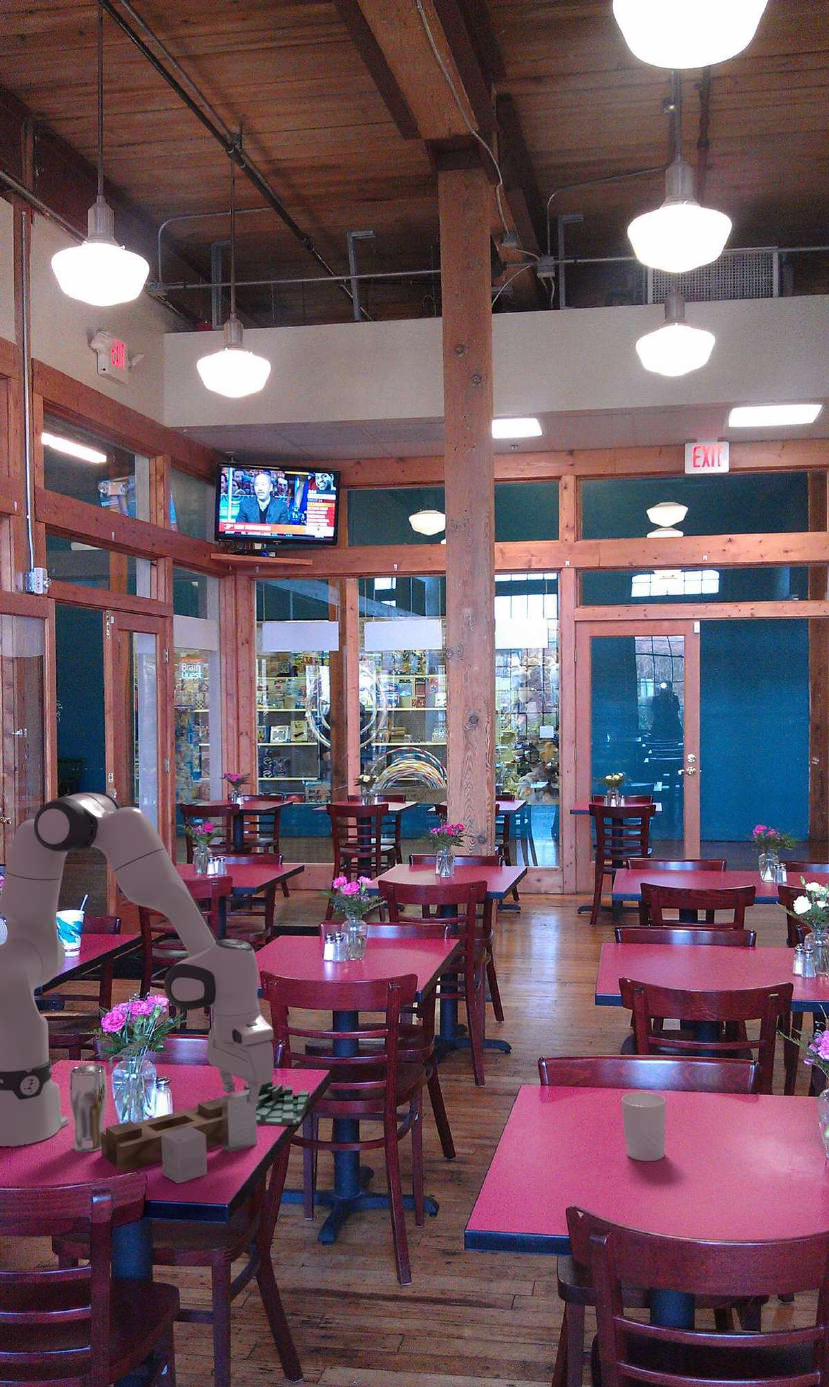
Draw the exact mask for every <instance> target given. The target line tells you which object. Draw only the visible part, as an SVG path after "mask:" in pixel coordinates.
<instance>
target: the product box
mask: <svg viewBox="0 0 829 1387" xmlns="http://www.w3.org/2000/svg"><path fill="white" fill-rule="evenodd" d="M207 1156H208V1155H207V1148H206V1134H204V1133H202V1132H200V1131H198V1130H197V1129H195V1128H193V1127H191V1126H188V1127H185V1128H181V1129H178V1130H175V1131H172V1132H168V1133H165V1134H162V1161H161V1162H162V1176H165V1177H166V1178H168V1179H170V1180H171V1181H173V1182H174V1183H176V1184H178V1185H179V1184H182V1183H184V1182H185V1183H186V1182H188V1181H192V1180H194V1179H197V1178H201V1177H203V1176H207V1175H208V1164H207V1163H208V1161H207V1160H208V1157H207Z"/></svg>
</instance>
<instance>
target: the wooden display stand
mask: <svg viewBox="0 0 829 1387" xmlns="http://www.w3.org/2000/svg"><path fill="white" fill-rule="evenodd" d="M188 1126H191V1127H193V1128H195V1129H197V1130H198V1131H200V1132H202V1133H204V1134H206V1149H207V1148H209V1147H213V1146H216V1145H220V1144H223V1125H222V1097H218V1098H214V1099H210V1100H206V1101H202V1102H198V1104H197V1106H195V1107H190V1108H187V1109H183V1110H180V1111H176V1112H173V1113H172V1112H170V1113H168V1114H164V1115H160V1116H157V1117H152V1118H149V1119H145V1120H142V1121H141V1120H140V1121H137V1122H134V1121H131V1120H129V1121H125V1122H122V1123H119V1124H114V1125H113V1124H112V1125H110V1126H106V1127H105V1130H104V1131H102V1132H101V1149H100V1150H101V1157H103V1159H105V1160H106V1161H108V1162H109V1163H111V1164H112V1165H113V1166H114V1167H115V1168H117V1169H118V1170H119V1171H120V1172H122V1173H123V1172H126V1171H130V1170H134V1169H136V1168H139V1167H144V1166H147V1165H150V1164H151V1165H152V1164H154V1163H158V1162H162V1134H165V1133H168V1132H172V1131H175V1130H178V1129H181V1128H185V1127H188Z"/></svg>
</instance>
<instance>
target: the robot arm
mask: <svg viewBox="0 0 829 1387" xmlns="http://www.w3.org/2000/svg"><path fill="white" fill-rule="evenodd" d="M90 848H96V849H98V850H100V852H102V853H103V854H104V856H105V858H106V860H107V861H108V864H109V867H110V869H111V871H112V874H113V876H114V878H115V881H116V883H117V886H118V887H119V889H120V890H121V892H122V893H123V895H124V896H125V897H126V899H128V901H129V902H131V903H133V904H134V905H137V906H140V907H144V908H149V909H152V910H155V911H157V912H159V913H161V914H163V916H165V917H166V918H168V920H169V922H170V923H171V924H172V926H173V927H174V929H175V931H176V933H177V935H178V937H179V938H180V940H181V942H182V944H183V946H184V948H185V949H186V952H187V953H188V954H187V955H188V957H186V958H185V959H183V960H180V961H179V962H176V963H175V964H174V965H173V966H171V967H170V969H168V971H167V972H166V974H165V977H164V981H163V988H164V989H163V990H164V994H165V996H166V998H167V1000H168V1001H169V1003H170V1004H171V1005H172V1006H174V1007H175V1008H176V1009H179V1010H181V1011H193V1010H198V1009H202V1008H206V1007H211V1008H212V1010H213V1021H212V1022H211V1028H210V1029H209V1031H208V1036H207V1037H208V1038H207V1060H208V1061H209V1064H210V1065H211V1066H213V1067H215V1068H217V1069H218V1070H219V1071H218V1074H219V1076H220V1079H221V1081H222V1089H223V1092H225V1093H227V1094H232V1093H235V1090H236V1084H235V1081H233V1076H235V1077H237V1078H239V1079H241V1080H242V1081H245V1082H247V1084H248V1087H250V1089H249V1094H246V1096H247V1103H249V1104H251V1105H254V1104H257V1103H258V1102H259V1096H258V1094H259V1092H260V1089H261V1086H262V1085H263V1084H266V1083H269V1082H271V1081H273V1078H274V1074H275V1073H274V1072H275V1068H274V1067H275V1066H274V1064H275V1063H274V1061H275V1060H274V1049H273V1044H272V1041H270V1040H273V1039H274V1029H273V1027H272V1026H271V1025H270V1024H269V1023H268V1022H267V1020H265V1018H264V1017H263V1014H261V1007H260V1003H259V999H258V991H259V984H260V982H259V970H258V969H259V968H258V962H257V955H256V952H255V949H254V947H253V946H252V945H251V944H250V943H248V942H247V941H245V940H243V939H239V938H238V939H236V938H222V939H220V940H219V938H218V937H217V936H216V934H215V932H214V931H213V929H212V928H211V926H210V924H209V922H208V920H207V918H206V916H205V914H204V913H203V911H202V909H201V907H200V906H199V903H198V901H197V900H196V898H195V896H194V895H193V893H192V892H191V890H190V889H189V887H188V886H187V884H186V883H185V881H184V880H183V879H182V877H181V876H180V874H179V873H178V870H177V869H176V868H175V865H174V863H173V862H172V859H171V857H170V854H169V853H168V851H167V849H166V846H165V844H164V842H163V840H162V838H161V837H160V834H159V833H158V831H157V829H156V828H155V826H154V825H153V823H152V821H151V820H150V819H149V817H148V815H147V814H146V813H145V811H143V810H142V809H141V808H139V807H135V806H124V807H122V805H121V803H120V801H118V800H117V798H115V797H114V796H112V795H110V794H108V793H106V792H105V793H104V792H100V791H96V792H95V791H94V792H78V793H73V794H71V795H67V796H64V797H57V798H54V799H52V800H50V801H48V802H46V803H44V805H42V806H41V807H40V809H38V811H37V813H36V815H35V817H34V818H31V819H28V820H25V821H24V822H22V823H20V825H18V827H17V829H16V832H15V834H14V836H13V839H12V842H11V845H10V848H9V852H8V855H7V860H6V864H5V870H4V876H3V882H2V887H1V888H2V889H1V893H0V913H1V914H2V916H3V917H5V921H6V932H7V935H6V939H5V941H4V943H0V1146H4V1148H6V1147H5V1146H10V1147H17V1146H18V1147H19V1145H20V1146H25V1145H24V1144H26V1145H29V1144H33V1143H34V1144H35V1143H37V1142H41V1141H43V1140H46V1139H49V1138H50V1137H52V1136H54V1135H56V1134H57V1133H58V1132H59V1130H60V1129H61V1128H62V1127H64V1126H67V1125H68V1124H69V1118H68V1116H65V1115H63V1114H62V1109H61V1108H62V1107H61V1106H62V1105H61V1098H60V1097H61V1096H60V1088H59V1087H60V1085H59V1084H58V1083H56V1082H55V1081H53V1080H52V1076H53V1075H52V1072H53V1071H52V1070H53V1065H52V1059H51V1058H50V1055H49V1054H50V1053H49V1051H50V1049H49V1048H50V1047H49V1023H48V1020H47V1018H46V1017H45V1016H44V1015H43V1014H41V1013H40V1012H39V1009H38V1006H37V1003H36V1001H35V1000H36V999H35V990H36V989H38V988H40V987H42V986H44V985H47V984H48V983H49V982H51V981H52V980H53V979H54V978H55V977H56V976H57V975H58V974H59V973H60V972H61V970H62V969H63V968H64V965H65V961H66V950H65V947H64V945H63V943H62V941H61V940H60V939H59V936H58V925H57V912H58V903H59V896H60V891H61V884H62V878H63V872H64V866H65V862H66V857H67V855H68V853H72V852H75V851H81V850H88V849H90ZM232 1075H233V1076H232Z"/></svg>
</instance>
